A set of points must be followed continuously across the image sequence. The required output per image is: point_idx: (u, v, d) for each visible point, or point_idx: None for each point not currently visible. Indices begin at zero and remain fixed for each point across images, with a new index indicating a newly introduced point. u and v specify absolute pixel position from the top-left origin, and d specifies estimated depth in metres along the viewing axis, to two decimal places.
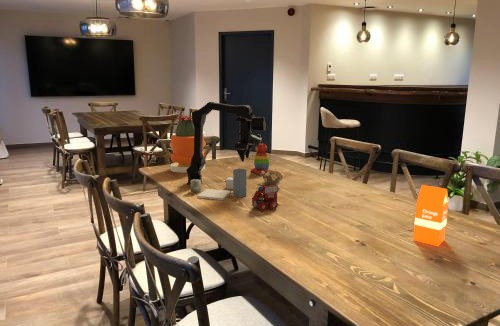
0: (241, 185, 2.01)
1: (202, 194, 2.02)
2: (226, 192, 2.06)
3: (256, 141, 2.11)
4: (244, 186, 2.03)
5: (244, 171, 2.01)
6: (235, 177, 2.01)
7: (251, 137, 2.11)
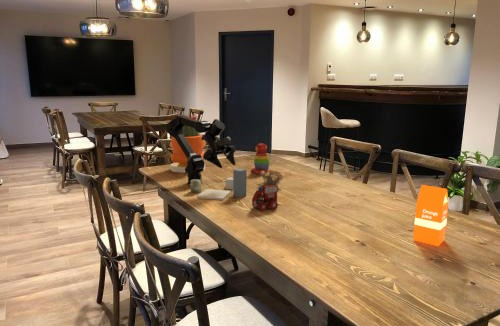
0: (241, 185, 2.01)
1: (202, 194, 2.02)
2: (226, 192, 2.06)
3: (221, 142, 2.04)
4: (244, 186, 2.03)
5: (244, 171, 2.01)
6: (235, 177, 2.01)
7: (216, 142, 2.07)
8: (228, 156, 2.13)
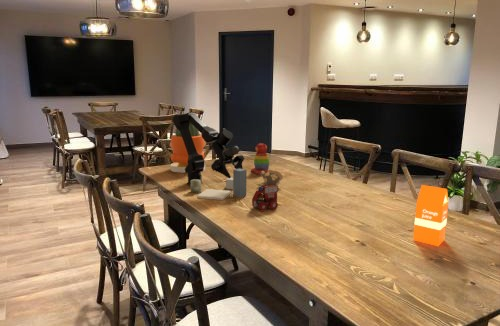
0: (241, 185, 2.01)
1: (202, 194, 2.02)
2: (226, 192, 2.06)
3: (229, 152, 2.01)
4: (244, 186, 2.03)
5: (244, 171, 2.01)
6: (235, 177, 2.01)
7: (224, 152, 2.04)
8: (236, 166, 2.10)
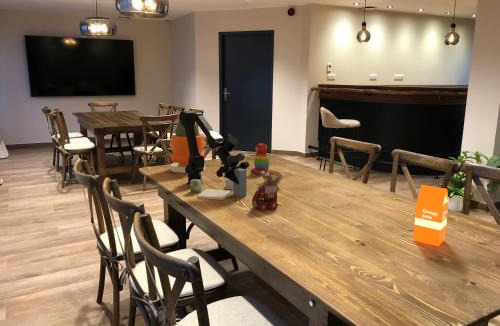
0: (241, 185, 2.01)
1: (202, 194, 2.02)
2: (226, 192, 2.06)
3: (234, 158, 1.99)
4: (244, 186, 2.03)
5: (244, 171, 2.01)
6: None
7: (230, 158, 2.02)
8: None
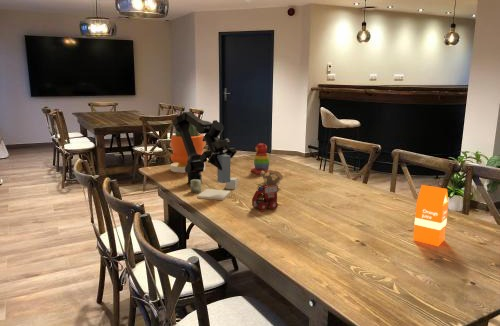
0: (224, 171, 2.00)
1: (202, 194, 2.02)
2: (226, 192, 2.06)
3: (218, 144, 1.99)
4: (228, 172, 2.02)
5: (228, 157, 2.00)
6: None
7: (214, 144, 2.02)
8: None
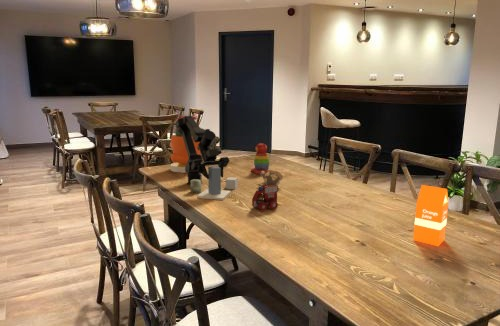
0: (213, 183, 2.00)
1: (202, 194, 2.02)
2: (226, 192, 2.06)
3: (208, 153, 2.00)
4: (218, 184, 2.02)
5: (217, 169, 2.00)
6: (209, 174, 2.02)
7: (206, 153, 2.03)
8: None
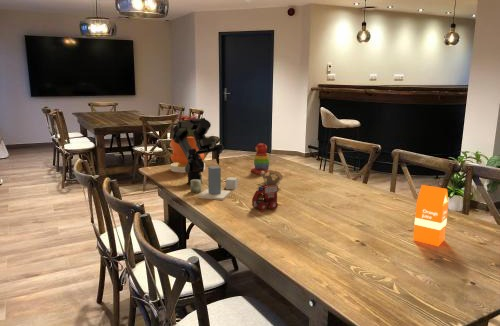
0: (213, 183, 2.00)
1: (202, 194, 2.02)
2: (226, 192, 2.06)
3: (202, 142, 2.05)
4: (218, 184, 2.02)
5: (217, 169, 2.00)
6: (209, 174, 2.02)
7: (200, 142, 2.08)
8: (215, 154, 2.13)
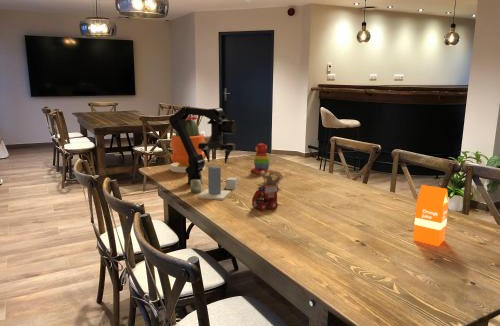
0: (213, 183, 2.00)
1: (202, 194, 2.02)
2: (226, 192, 2.06)
3: None
4: (218, 184, 2.02)
5: (217, 169, 2.00)
6: (209, 174, 2.02)
7: (210, 140, 2.12)
8: None
